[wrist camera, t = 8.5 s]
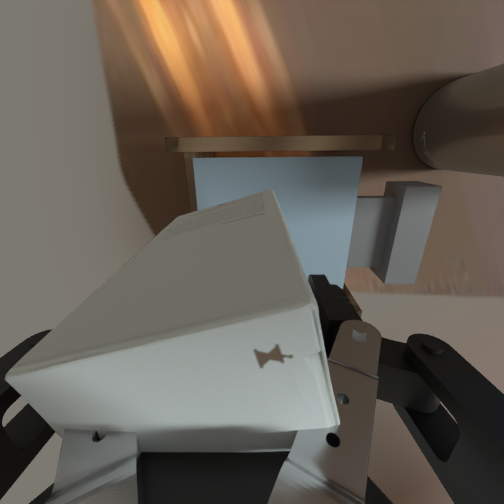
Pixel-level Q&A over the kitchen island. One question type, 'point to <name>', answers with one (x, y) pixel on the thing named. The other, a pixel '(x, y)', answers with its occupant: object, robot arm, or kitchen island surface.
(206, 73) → the kitchen island surface
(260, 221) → the small box
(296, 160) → the trapdoor
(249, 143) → the trapdoor frame
